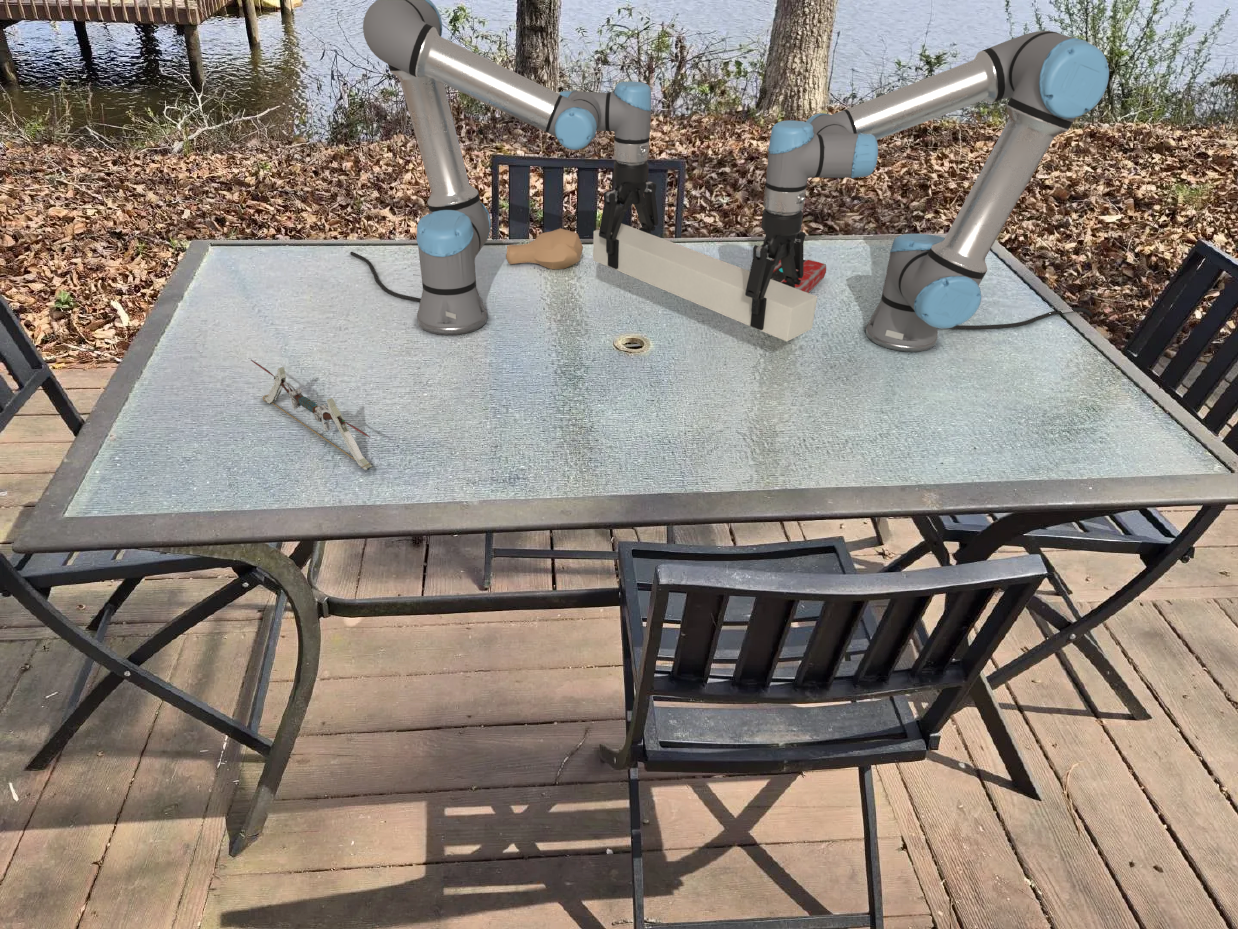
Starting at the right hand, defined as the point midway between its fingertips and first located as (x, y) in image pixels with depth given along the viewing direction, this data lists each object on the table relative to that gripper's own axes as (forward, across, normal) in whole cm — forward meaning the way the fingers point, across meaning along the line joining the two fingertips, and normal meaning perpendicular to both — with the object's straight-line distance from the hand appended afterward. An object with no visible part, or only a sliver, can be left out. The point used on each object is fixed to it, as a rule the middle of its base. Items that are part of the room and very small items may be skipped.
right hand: (770, 320), depth 177 cm
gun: (+11, +34, +23) cm, 42 cm away
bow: (+9, -81, +40) cm, 91 cm away
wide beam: (0, 0, +20) cm, 20 cm away
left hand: (-1, 0, +40) cm, 41 cm away
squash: (+9, +4, +74) cm, 74 cm away
